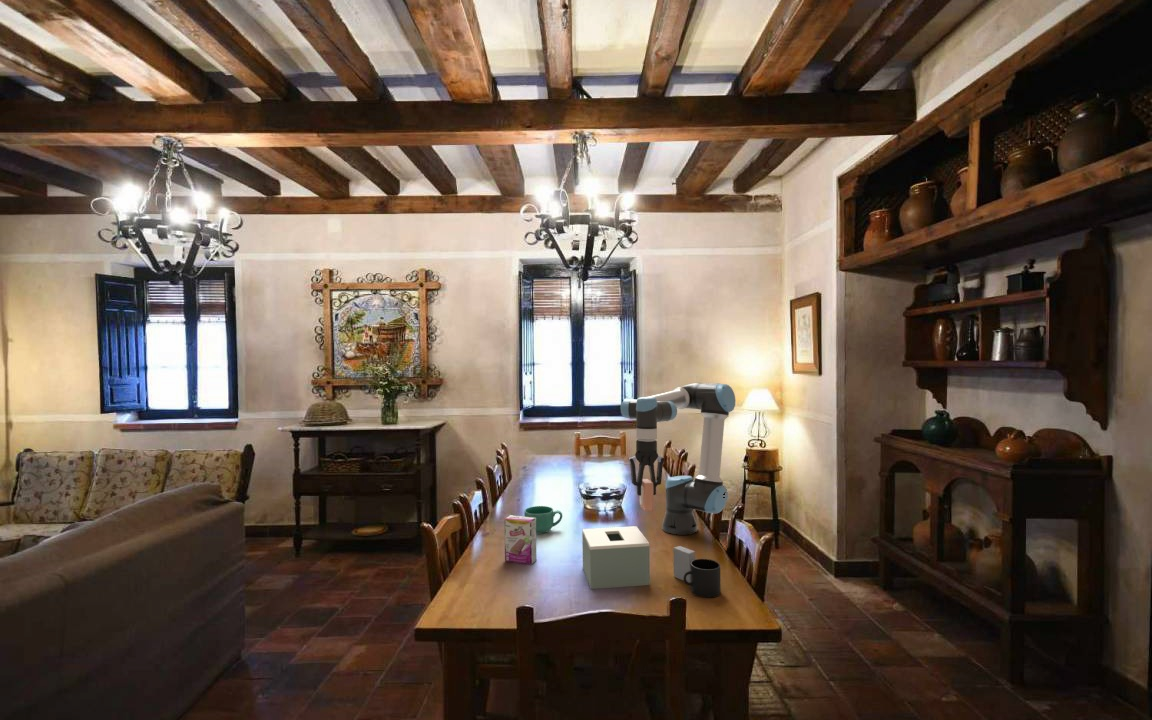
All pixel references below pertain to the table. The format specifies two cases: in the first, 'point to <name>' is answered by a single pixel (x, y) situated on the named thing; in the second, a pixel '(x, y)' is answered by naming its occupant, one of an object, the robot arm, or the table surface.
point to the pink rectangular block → (647, 495)
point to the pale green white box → (615, 557)
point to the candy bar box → (520, 539)
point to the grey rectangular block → (682, 562)
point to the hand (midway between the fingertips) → (646, 504)
